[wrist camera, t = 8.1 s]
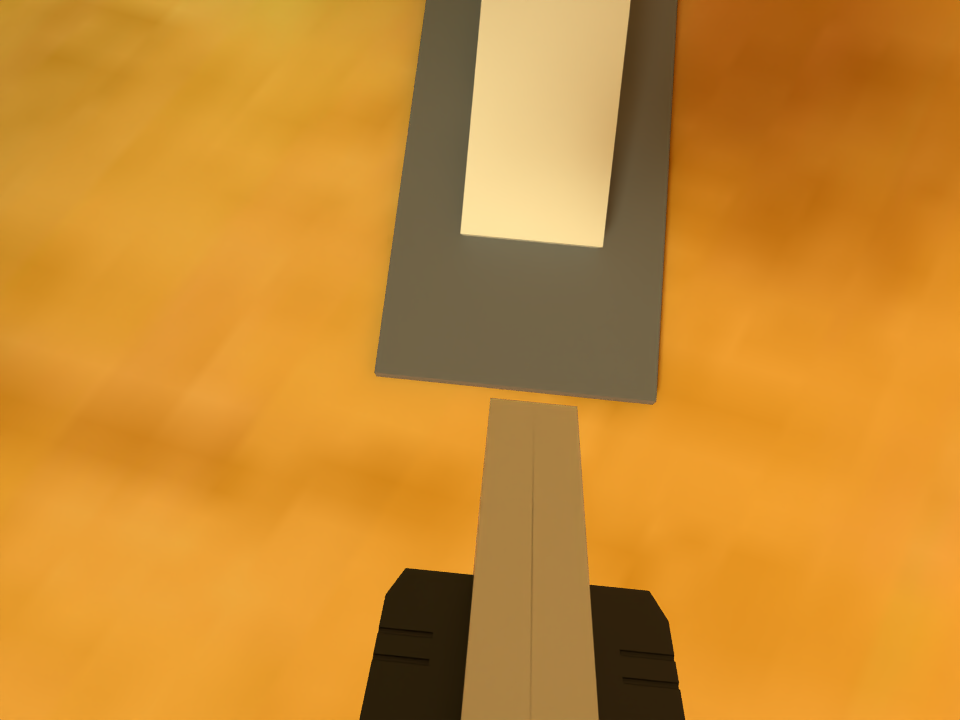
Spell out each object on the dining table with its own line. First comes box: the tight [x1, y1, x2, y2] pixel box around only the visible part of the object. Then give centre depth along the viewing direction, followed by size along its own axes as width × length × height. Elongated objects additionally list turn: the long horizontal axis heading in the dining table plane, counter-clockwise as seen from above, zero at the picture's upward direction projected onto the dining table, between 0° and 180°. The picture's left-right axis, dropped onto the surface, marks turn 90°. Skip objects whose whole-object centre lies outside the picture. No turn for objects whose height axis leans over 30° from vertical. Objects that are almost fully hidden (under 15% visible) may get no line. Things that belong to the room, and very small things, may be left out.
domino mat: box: [375, 0, 677, 405], centre depth 31 cm, size 22×10×1 cm, turn 174°
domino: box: [460, 0, 631, 248], centre depth 28 cm, size 2×5×10 cm
